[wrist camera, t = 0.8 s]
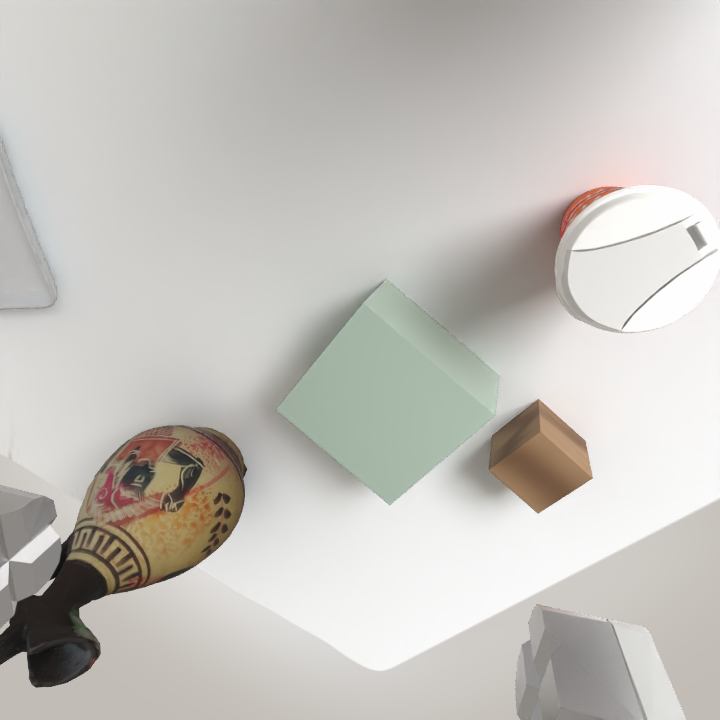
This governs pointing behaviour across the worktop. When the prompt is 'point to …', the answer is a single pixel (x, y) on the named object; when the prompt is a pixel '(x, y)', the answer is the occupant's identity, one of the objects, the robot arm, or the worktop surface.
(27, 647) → the ceramic jug
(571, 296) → the coffee cup
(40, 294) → the salad plate
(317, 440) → the sage box
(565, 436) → the walnut block
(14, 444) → the worktop surface
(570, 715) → the robot arm
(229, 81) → the worktop surface
